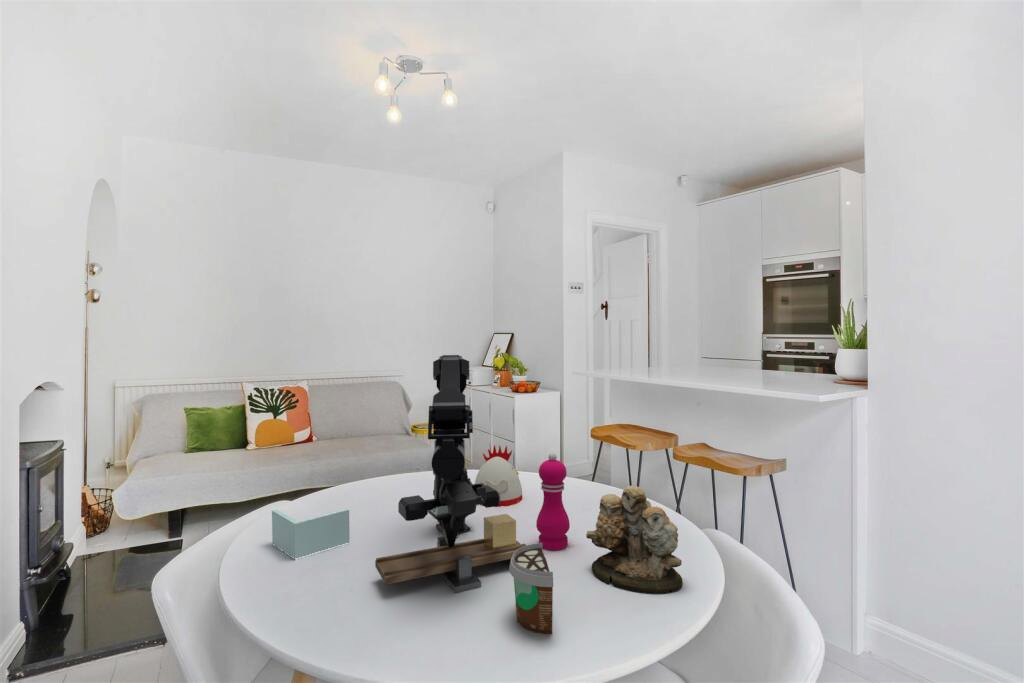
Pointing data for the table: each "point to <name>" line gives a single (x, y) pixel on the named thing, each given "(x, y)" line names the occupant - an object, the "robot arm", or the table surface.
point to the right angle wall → (309, 532)
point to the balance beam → (438, 560)
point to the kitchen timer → (501, 477)
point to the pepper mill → (553, 506)
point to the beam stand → (461, 572)
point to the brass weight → (499, 531)
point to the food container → (532, 588)
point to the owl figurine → (636, 544)
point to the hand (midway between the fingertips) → (450, 546)
